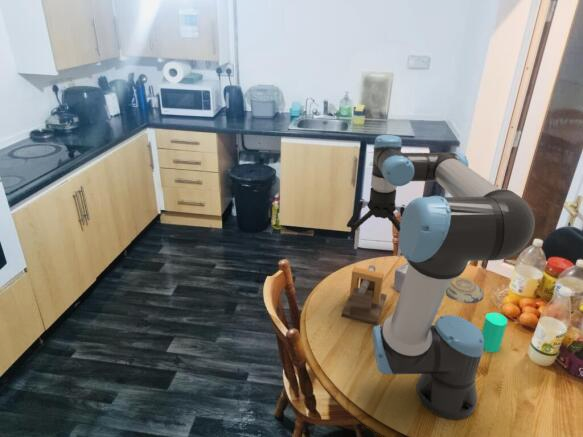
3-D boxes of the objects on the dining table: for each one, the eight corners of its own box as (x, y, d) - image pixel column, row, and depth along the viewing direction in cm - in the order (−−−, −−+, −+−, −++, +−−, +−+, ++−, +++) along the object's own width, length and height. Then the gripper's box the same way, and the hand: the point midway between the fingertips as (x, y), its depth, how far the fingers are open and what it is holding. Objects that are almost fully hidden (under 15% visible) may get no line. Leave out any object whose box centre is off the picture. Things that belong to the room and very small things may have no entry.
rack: (376, 325, 139) (380, 294, 134) (341, 316, 143) (343, 286, 138) (386, 297, 153) (389, 269, 147) (353, 290, 157) (355, 261, 151)
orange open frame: (378, 303, 143) (382, 278, 139) (349, 295, 147) (352, 271, 142) (380, 297, 146) (383, 273, 141) (352, 291, 149) (354, 266, 145)
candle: (498, 340, 133) (507, 309, 128) (501, 354, 128) (510, 322, 123) (477, 337, 134) (485, 306, 129) (479, 350, 129) (488, 318, 124)
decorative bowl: (492, 295, 155) (458, 275, 166) (494, 287, 153) (459, 267, 164) (465, 310, 148) (431, 288, 159) (468, 301, 146) (433, 279, 157)
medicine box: (402, 294, 155) (405, 274, 151) (392, 288, 158) (395, 268, 154) (415, 286, 159) (418, 266, 155) (405, 281, 162) (408, 261, 158)
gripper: (428, 189, 126) (419, 252, 134) (345, 179, 134) (342, 239, 142) (426, 198, 119) (416, 263, 128) (339, 186, 127) (336, 249, 136)
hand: (377, 251), depth 135 cm, fingers open, 13 cm apart
